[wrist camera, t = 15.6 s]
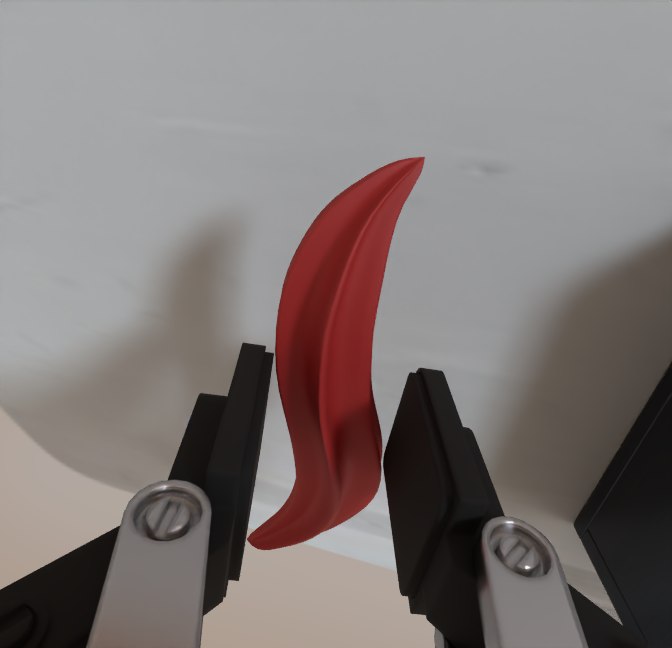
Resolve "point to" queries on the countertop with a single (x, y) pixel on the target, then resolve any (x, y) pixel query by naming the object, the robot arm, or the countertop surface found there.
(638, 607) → the bin
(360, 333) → the cayenne pepper
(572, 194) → the countertop surface
